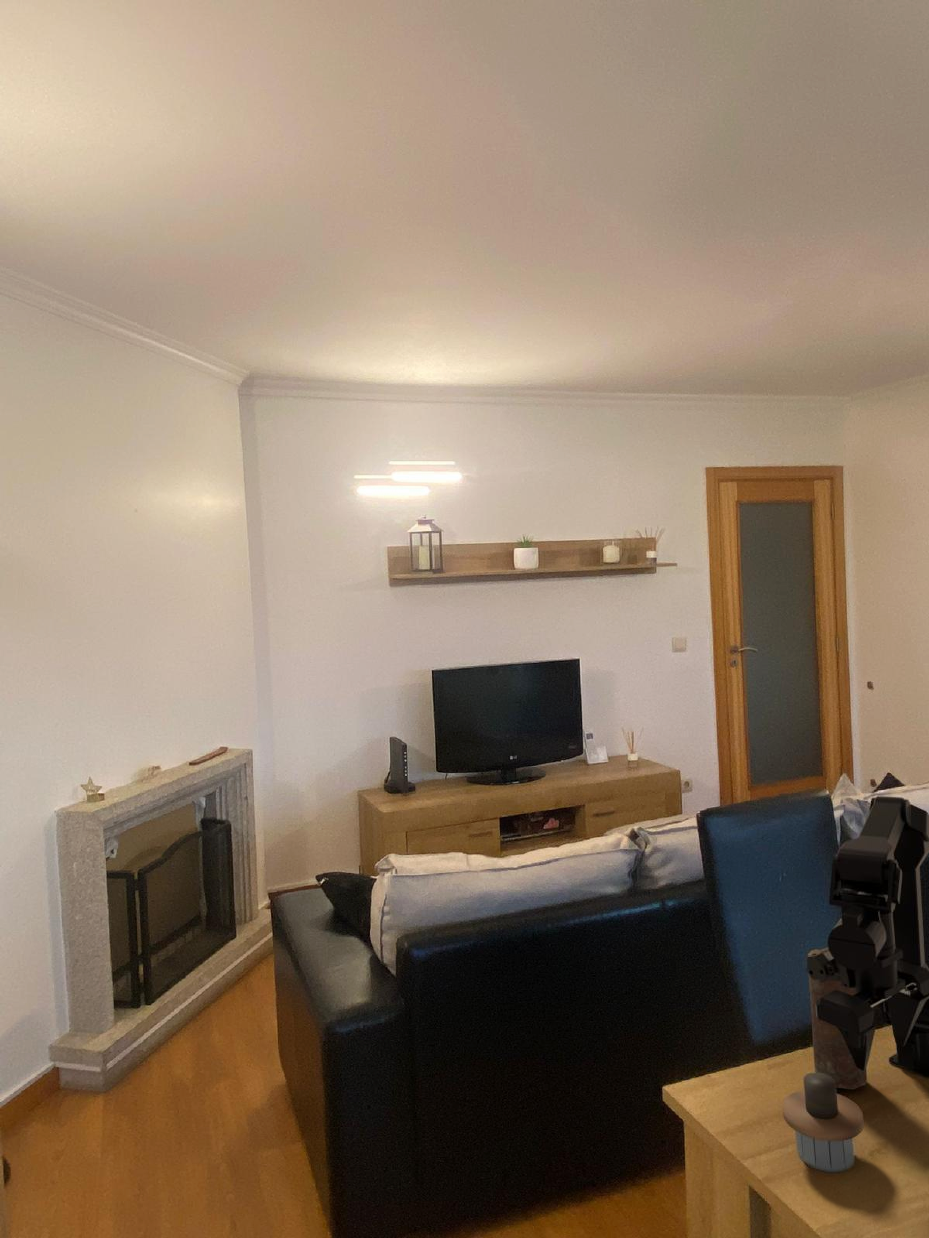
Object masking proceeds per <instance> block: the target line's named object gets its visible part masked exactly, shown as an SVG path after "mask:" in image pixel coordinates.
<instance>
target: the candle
mask: <svg viewBox="0 0 929 1238" xmlns="http://www.w3.org/2000/svg"><path fill="white" fill-rule="evenodd" d="M826 952H829V948H828V947H825V948H823V949H814V950H810V952H809V953H807V956H810V955H812V954H816V955H817V954H819V953H826ZM808 985H809V997H810V999H809V1000H810V1010H811V1027H812V1028H811V1029H812V1030H811V1031H812V1032H811V1033H812V1046H813V1047H812V1049H813V1061H814V1062H813V1064H814V1073H823V1074H826V1075H829V1076H831V1077H832V1078H833V1079H834V1080H835V1082H836V1088H837V1089H838V1088H839V1089H846V1090H854V1089H855V1090H856V1089H858V1088H860V1087H862V1086H865V1085H866V1083H867V1081H868V1076H867V1068H866V1069H865V1070H861V1069H858V1068H857V1067H856V1065H855V1063H854V1060H853V1058H852V1056H851V1054H850V1051H849V1049H848V1047H847V1045H846V1042H845V1040H844V1038H843V1036H842V1035H841V1033H840V1031H839V1030H838V1029H837V1028H836V1027H835V1026H833V1025H831V1024H828V1023H826V1022H825V1021H822V1020H820V1019H818V1018H817V1016H816V1005H815V1002H816V1001H817V1000H818V999H820V998H821V997H823V996H825V995H827V994H829V993H830V992H832V991H834V990H838V991H841V992H844V993H847V994H849V995H852V996H853V995H855V994H857V992H855V991H854V988H846V987H843V986H841V980H840V981H825V983H819V982H818V980H813V979H812V978H811V977H810V976H809V975H808Z"/></svg>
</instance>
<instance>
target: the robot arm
mask: <svg viewBox="0 0 929 1238" xmlns="http://www.w3.org/2000/svg"><path fill="white" fill-rule="evenodd" d="M928 855H929V813H928V811H927V810H925V809H923V808H920V807H918V806H916V805H914V804H912V803H911V802H910V801H909V799H905V798H904V797H901V796H900V797H896V796H879V795H877V796H876V797H871V799H870V806H869V807H868V815H867V816H866V820H865V822H864V824H863V825H862V828H861V830H860V833H859V835H858V837H856V838H853V839H849V840H846V841H845V842H844V843H842V845H841V846H840V848H839V849H838V851H837V854H834V855H833V858H832V866H831V867H832V868H831V876H830V877H831V878H830V885H829V886H830V887H829V898H828V904H829V905H830V906H834V907H835V906H837V907H841V916H840V919H839V921H838V922H837V923H836V924H835V926H833V928H832V930H831V931H830V933H829V934H828V939H827V948H829V952H826V953H819V954H817V955H816V954H812V955H810V956H808V955H807V956H806V971H807V972H806V973H807V974H808V977H809V976H810V977H811V978H812V979H813V980H818V982H819V983H825V981H840V980H841V986H843V987H846V988H854V991H855V992H857V994H855V995H853V996H852V995H849V994H847V993H844V992H841V991H838V990H834V991H832V992H830V993H829V994H827V995H825V996H823V997H821V998H820V999H818V1000H817V1001H816V1002H815V1005H816V1016H817V1018H818V1019H820V1020H822V1021H825V1022H826V1023H828V1024H831V1025H833V1026H835V1027H836V1028H837V1029H838V1030H839V1031H840V1033H841V1035H842V1036H843V1038H844V1040H845V1042H846V1045H847V1047H848V1049H849V1051H850V1054H851V1056H852V1058H853V1060H854V1063H855V1065H856V1067H857V1068H858V1069H861V1070H865V1069H866V1070H867V1066H868V1063H869V1059H870V1055H871V1051H872V1046H873V1042H874V1037H875V1033H876V1029H877V1027H876V1026H875V1025H873V1023H874V1021H875V1020H874V1019H875V1009H874V1007H876V1006H877V1005H880V1010H881V1016H882V1022H883V1024H884V1025H887V1026H891V1030H892V1034H893V1035H892V1036H893V1039H894V1043H895V1049H896V1053H894V1054H893V1055H891V1056H889V1057H888V1062H889V1063H890V1064H892V1065H895V1066H897V1067H900V1068H902V1069H904V1070H908V1071H910V1072H912V1073H914V1074H916V1075H919V1076H921V1077H924V1078H926V1079H927V1078H928V1079H929V966H928V965H927V963H926V958H925V944H924V943H925V942H924V939H925V938H924V925H923V923H924V922H923V906H922V904H923V903H922V890H921V889H922V886H921V869H920V867H921V865H922V864H923V862H924V860H925V859H926V857H927V856H928ZM840 889H842V890H843V891H840ZM844 891H850V892H844ZM852 892H857V893H852Z"/></svg>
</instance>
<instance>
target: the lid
mask: <svg viewBox="0 0 929 1238" xmlns="http://www.w3.org/2000/svg"><path fill="white" fill-rule="evenodd" d="M782 1115H783V1119H784V1122H785V1123H786V1124H787V1125H788V1126H789V1127H790V1128H791V1129H793V1131H795V1132H796V1131H797V1132H799V1133H801V1134H803V1135H805V1136H807V1137H810V1138H814V1139H818V1140H823V1141H844V1140H848V1139H851V1138H853V1139H854V1138H856V1137H857V1136H859V1135H860V1134H861V1133H862V1131H863V1129H864V1127H865V1126H864V1125H865V1124H864V1123H865V1121H864V1115H863V1112H862V1110H861V1108H860V1107H859V1105H858V1104H856V1103H855V1101H853V1100H851V1099H850V1098H848V1097H846V1096H844V1095H841V1094H839V1093H837V1087H836V1082H835V1080H834V1079H833V1078H832V1077H831V1076H829V1075H826V1074H823V1073H815V1072H810V1073H807V1074H805V1075H804V1076H803V1089H802V1090H797V1091H794V1092H791V1093H790V1094H788V1095H787V1096H785V1098H784V1099H783V1101H782Z"/></svg>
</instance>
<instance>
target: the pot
mask: <svg viewBox="0 0 929 1238" xmlns="http://www.w3.org/2000/svg"><path fill="white" fill-rule="evenodd" d="M795 1141H796V1142H795V1143H796V1150H797V1154H798V1156H799V1158H800V1160H801V1161H803V1162H804V1163H805V1164H806V1165H807V1166H809V1167H810V1168H813V1169H815V1170H817V1171H821V1172H826V1173H842V1172H846V1171H849V1170H850V1169H852V1167H853V1166H854V1164H855V1161H856V1160H855V1143H854V1138H851V1139H848V1140H844V1141H823V1140H818V1139H814V1138H810V1137H807V1136H805V1135H803V1134H801V1133H799V1132H797V1131H795Z"/></svg>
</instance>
